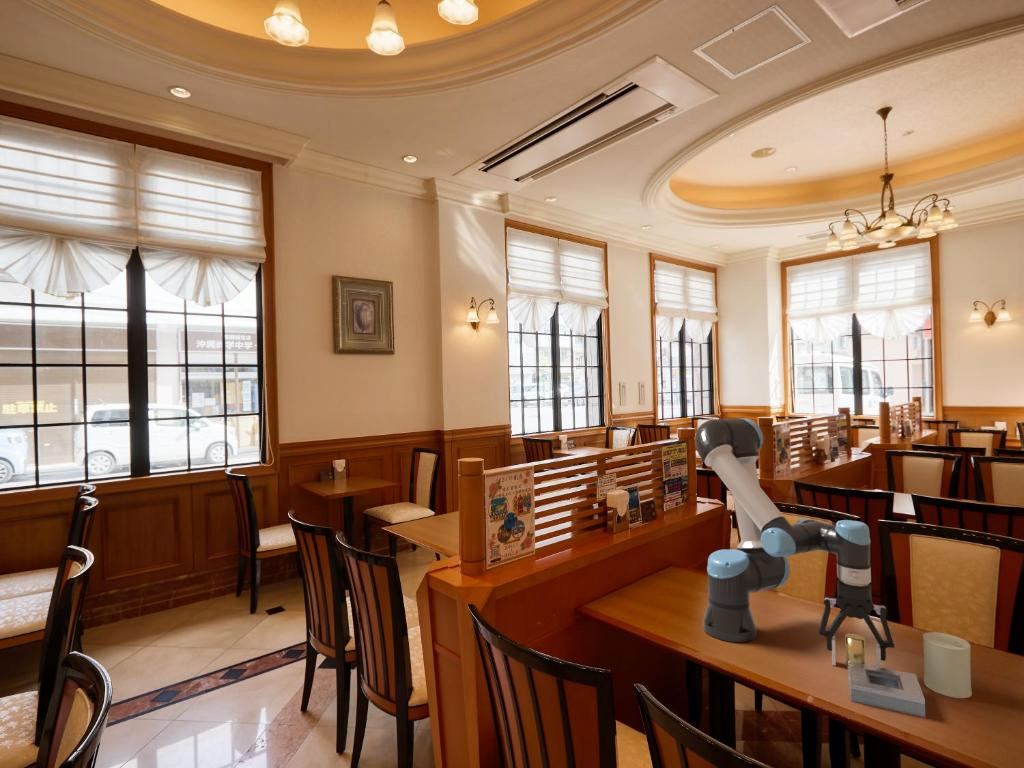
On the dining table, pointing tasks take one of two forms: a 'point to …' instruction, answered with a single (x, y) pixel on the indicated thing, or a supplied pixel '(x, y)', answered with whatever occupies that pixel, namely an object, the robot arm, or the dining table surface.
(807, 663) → the dining table surface
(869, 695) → the block
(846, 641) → the golden yellow cylinder
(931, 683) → the can
